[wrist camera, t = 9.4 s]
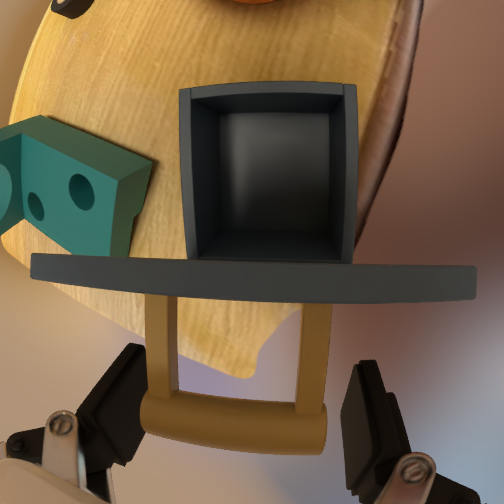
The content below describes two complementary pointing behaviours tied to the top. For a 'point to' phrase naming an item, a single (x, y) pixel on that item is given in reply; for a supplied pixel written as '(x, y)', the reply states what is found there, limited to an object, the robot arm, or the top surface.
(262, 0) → the flower pot
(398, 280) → the lid
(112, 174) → the teal l-shaped bracket
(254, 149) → the chest
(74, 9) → the tape roll
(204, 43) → the top surface
